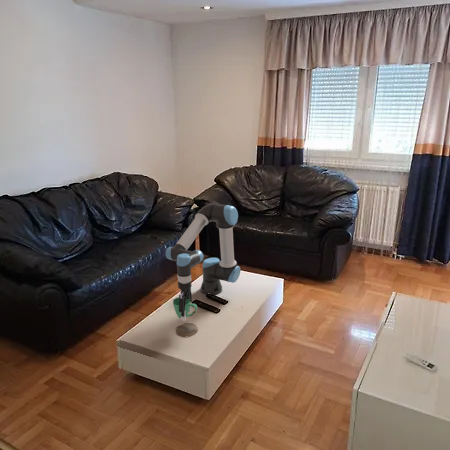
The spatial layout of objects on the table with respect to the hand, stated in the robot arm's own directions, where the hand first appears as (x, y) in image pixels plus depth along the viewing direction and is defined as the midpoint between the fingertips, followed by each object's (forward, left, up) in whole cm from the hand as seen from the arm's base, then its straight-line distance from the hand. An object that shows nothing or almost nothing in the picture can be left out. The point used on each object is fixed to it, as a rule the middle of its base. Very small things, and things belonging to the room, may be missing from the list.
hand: (186, 316), depth 229 cm
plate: (0, 0, -9) cm, 9 cm away
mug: (0, 0, -1) cm, 1 cm away
